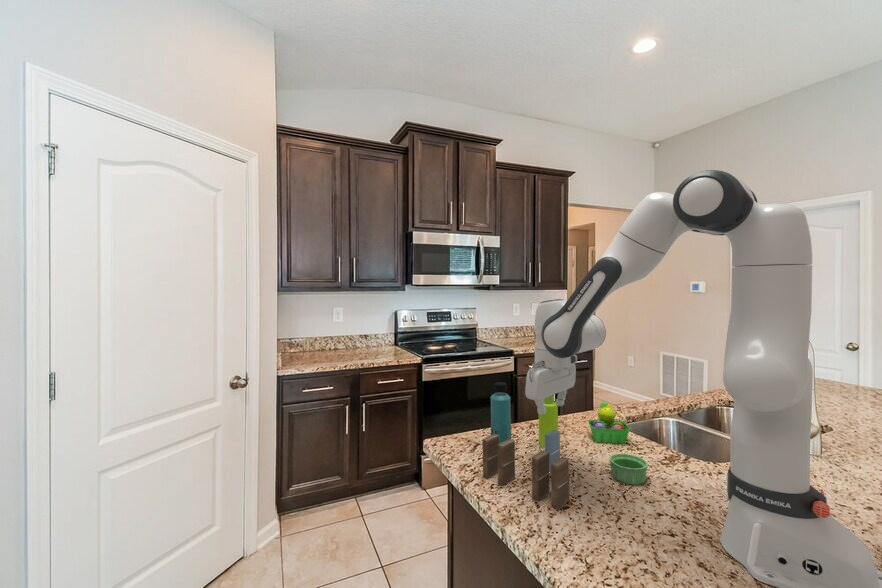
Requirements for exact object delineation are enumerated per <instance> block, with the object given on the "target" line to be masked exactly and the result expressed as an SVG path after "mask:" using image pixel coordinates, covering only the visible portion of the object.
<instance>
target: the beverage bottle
mask: <svg viewBox="0 0 882 588" xmlns="http://www.w3.org/2000/svg"><path fill="white" fill-rule="evenodd" d="M507 384H508V383H506V382H504V381H503V382H501V381H499V382H495V383H494V384H493V391H494V393H493V394H491V396H490V436H491V435H493V434H496V435H499V444H500V443H502V442H504V441H506V440H508V439H511V440H512V418H511V416H512V415H511V414H512V413H511V399H512V398H511V396H510V395H509V394H508V393H506V391H508V386H507Z"/></svg>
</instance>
